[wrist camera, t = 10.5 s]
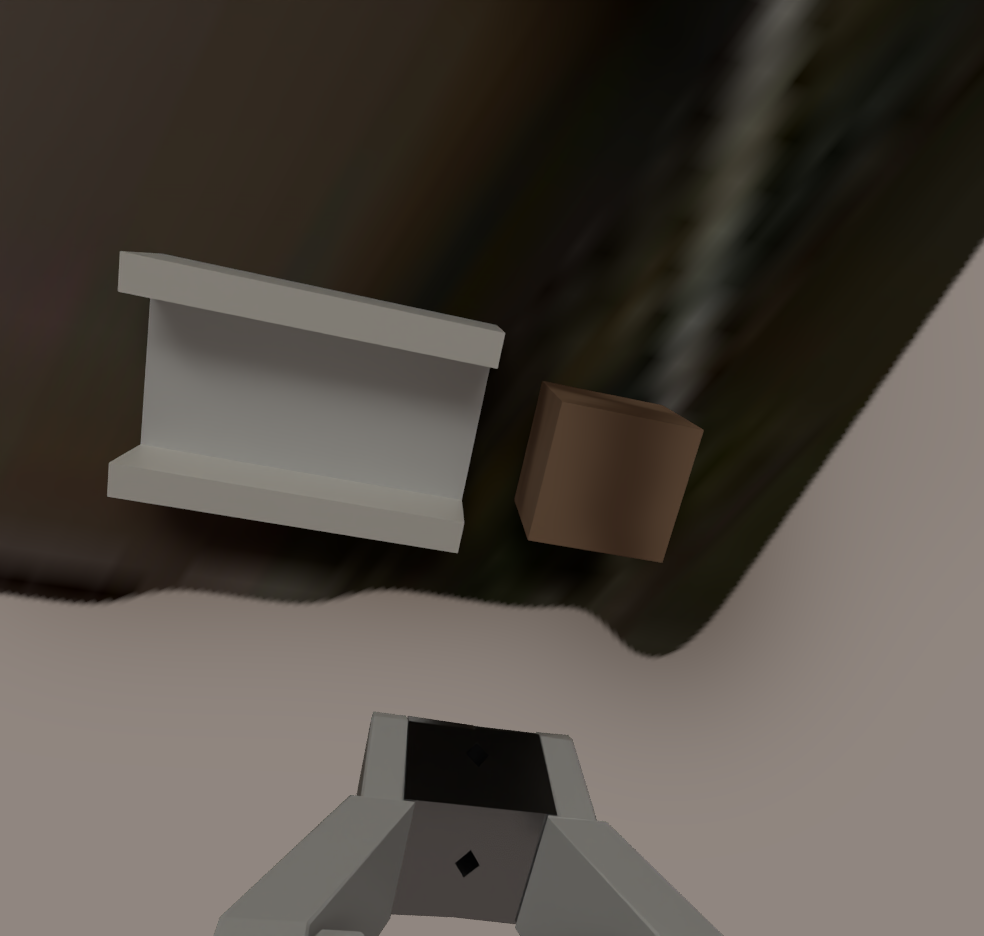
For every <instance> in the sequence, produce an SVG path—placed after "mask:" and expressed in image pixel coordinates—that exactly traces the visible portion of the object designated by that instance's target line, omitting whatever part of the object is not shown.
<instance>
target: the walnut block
mask: <svg viewBox="0 0 984 936" xmlns="http://www.w3.org/2000/svg"><path fill="white" fill-rule="evenodd" d="M703 431H704V430H703V429H701V428H699V427H698V426H696V425H694V424H693V423H691V422H689V421H688V420H686V419H684V418H683V417H681V416H679V415H678V414H676V413H674V412H673V411H671V410H669V409H668V408H666V407H664V406H663V405H658V404H653V403H648V402H643V401H638V400H633V399H628V398H624V397H619V396H614V395H609V394H604V393H599V392H594V391H589V390H584V389H579V388H574V387H569V386H565V385H560V384H555V383H550V382H545V381H542V385H541V389H540V393H539V397H538V402H537V406H536V410H535V414H534V419H533V423H532V427H531V431H530V436H529V440H528V444H527V448H526V452H525V457H524V461H523V465H522V469H521V474H520V478H519V482H518V486H517V491H516V495H515V499H514V500H515V503H516V506H517V509H518V512H519V515H520V518H521V521H522V524H523V527H524V530H525V533H526V536H527V539H528V540H530V541H536V542H542V543H547V544H553V545H559V546H565V547H571V548H577V549H583V550H589V551H595V552H601V553H607V554H613V555H619V556H625V557H631V558H637V559H643V560H649V561H655V562H661V563H662V562H663V559H664V556H665V552H666V549H667V546H668V543H669V540H670V536H671V533H672V530H673V527H674V524H675V520H676V517H677V514H678V511H679V508H680V504H681V501H682V498H683V495H684V492H685V488H686V485H687V482H688V479H689V475H690V472H691V469H692V466H693V463H694V459H695V456H696V453H697V450H698V447H699V443H700V440H701V437H702V434H703Z"/></svg>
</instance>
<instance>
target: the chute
mask: <svg viewBox="0 0 984 936" xmlns="http://www.w3.org/2000/svg"><path fill="white" fill-rule="evenodd" d="M118 292H123V293H128V294H133V295H138V296H143V297H148V298H150V310H149V325H148V341H147V356H146V371H145V386H144V402H143V417H142V432H141V444H140V445H139V446H137V447H135V448H133V449H132V450H130V451H128V452H127V453H125V454H123V455H122V456H120V457H118V458H116V459H115V460H113V461H111V462H110V463H109V473H108V492H107V497H114V498H120V499H126V500H132V501H138V502H144V503H151V504H157V505H163V506H169V507H175V508H181V509H188V510H194V511H200V512H206V513H212V514H218V515H225V516H231V517H237V518H243V519H249V520H255V521H262V522H268V523H274V524H280V525H286V526H292V527H299V528H305V529H311V530H317V531H323V532H330V533H336V534H342V535H348V536H354V537H360V538H367V539H373V540H379V541H385V542H391V543H397V544H404V545H410V546H416V547H422V548H428V549H434V550H441V551H447V552H453V553H458V550H459V545H460V540H461V536H462V531H463V526H464V516H463V507H462V496H463V492H464V487H465V482H466V478H467V473H468V468H469V464H470V459H471V454H472V449H473V445H474V440H475V435H476V431H477V426H478V421H479V416H480V412H481V407H482V402H483V398H484V393H485V388H486V383H487V379H488V374H489V369H490V367H491V368H495V369H498V364H499V359H500V355H501V350H502V346H503V341H504V336H505V332H504V331H502V330H501V329H500V328H499V327H498V326H497V325H494V324H489V323H484V322H479V321H475V320H470V319H465V318H461V317H456V316H451V315H447V314H442V313H437V312H433V311H428V310H423V309H419V308H414V307H409V306H405V305H400V304H395V303H391V302H386V301H381V300H377V299H372V298H367V297H362V296H358V295H353V294H348V293H344V292H339V291H334V290H330V289H325V288H320V287H316V286H311V285H306V284H302V283H297V282H292V281H288V280H283V279H278V278H274V277H269V276H264V275H260V274H255V273H250V272H245V271H241V270H236V269H231V268H227V267H222V266H217V265H213V264H208V263H203V262H199V261H194V260H189V259H185V258H180V257H175V256H171V255H166V254H157V253H141V252H124V251H120V261H119V281H118Z"/></svg>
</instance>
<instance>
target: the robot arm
mask: <svg viewBox="0 0 984 936" xmlns="http://www.w3.org/2000/svg"><path fill="white" fill-rule="evenodd" d="M391 914H397V915H418V916H439V917H457V918H465V919H474V920H483V921H492V922H501V923H510V924H516V926H515V928H516V930H517V931H518V933H519V935H520V936H723V935H722V934H721V933H720V932H719V931H718V930H717V929H716V928H715V927H714V926H713V925H712V924H711V923H710V922H709V921H708V920H707V919H706V918H705V917H704V916H703V915H702V914H700V912H698V910H697V909H696V908H695V907H693V906H692V905H691V904H690V903H689V902H688V901H687V900H686V899H685V898H684V897H683V896H682V895H681V894H680V893H679V892H678V891H677V890H676V889H675V888H674V887H673V886H672V885H671V884H670V883H669V882H668V881H667V880H666V879H665V878H664V877H663V876H662V875H661V874H660V873H659V872H658V871H657V870H656V869H654V868H653V867H652V866H651V865H650V864H649V863H648V862H647V861H646V860H645V859H644V858H643V857H642V856H641V855H640V854H639V853H638V852H637V851H636V850H635V849H634V848H633V847H632V846H631V845H630V844H629V843H628V842H627V841H626V840H625V839H624V838H622V836H621V835H619V833H618V832H617V831H616V830H615V829H613V828H612V827H611V826H610V825H609V824H608V823H607V822H604V821H597V819H596V816H595V813H594V809H593V806H592V803H591V799H590V796H589V793H588V790H587V786H586V783H585V780H584V776H583V773H582V770H581V766H580V764H579V760H578V757H577V753H576V750H575V747H574V743H573V740H572V739H571V738H570V737H569V736H568V735H560V734H550V733H539V732H537V733H529V732H520V731H512V730H503V729H495V728H485V727H478V726H473V725H466V724H460V723H453V722H446V721H439V720H432V719H425V718H418V717H412V716H408V718H407V717H406V716H403V715H395V714H388V713H380V712H373V715H372V718H371V723H370V728H369V733H368V739H367V744H366V749H365V754H364V760H363V765H362V770H361V775H360V780H359V785H358V791H357V796H354V795H350V796H349V797H348V798H347V799H346V800H345V801H343V802H342V803H341V804H340V805H339V806H338V807H337V808H336V809H335V810H334V811H333V812H332V813H331V814H330V815H328V816H327V817H326V818H325V819H324V820H323V821H322V822H321V823H320V824H319V825H318V826H317V827H316V828H315V829H314V830H312V831H311V832H310V833H309V834H308V835H307V836H306V837H305V838H304V839H303V840H302V841H301V842H300V843H299V844H298V845H296V847H294V848H293V849H292V850H291V851H290V852H289V853H288V854H287V855H286V856H285V857H284V858H283V859H281V860H280V861H279V862H278V863H277V864H276V865H275V866H274V867H273V868H272V869H271V870H270V871H269V872H268V873H267V874H265V875H264V876H263V877H262V879H260V880H259V881H258V882H257V883H256V884H255V885H254V886H253V887H252V888H251V889H249V890H248V891H247V892H246V893H245V894H244V895H243V896H242V897H241V898H240V899H239V900H238V901H237V902H236V903H234V904H233V905H232V906H231V907H230V908H229V909H228V910H227V911H226V912H225V913H224V914H223V915H222V916H221V917H220V918H219V921H218V924H217V927H216V930H215V933H214V936H379V934H380V933H381V931H382V930H383V928H384V927H385V925H386V924H387V922H388V921H389V919H390V916H391Z"/></svg>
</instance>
